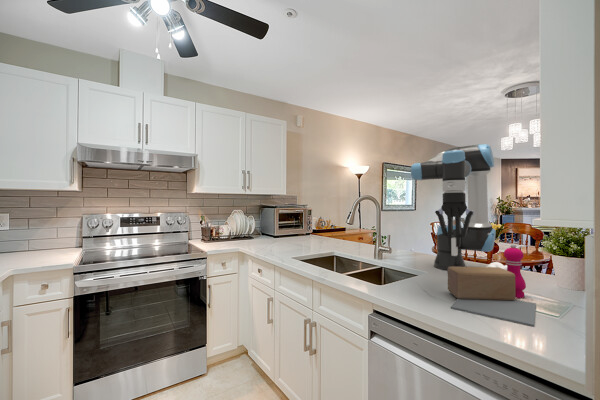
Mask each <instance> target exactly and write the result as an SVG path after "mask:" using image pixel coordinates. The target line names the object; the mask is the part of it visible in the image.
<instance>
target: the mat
mask: <svg viewBox="0 0 600 400" xmlns="http://www.w3.org/2000/svg"><path fill="white" fill-rule="evenodd" d="M536 307H537V303H536V302H530V301H523V300H520V299H515V300H487V299H459V298H457V299H456V300H455V301H454V302H453V303H452V304H451V306H450V309H452V310H456V311H460V312H465V313H470V314H474V315H479V316H484V317H488V318H491V319H492V318H493V319H497V320H501V321H506V322H511V323H514V324H519V325H520V324H521V325H524V326H529V327H534V328H535V322H536V312H535V311H537V310H536V309H537V308H536Z"/></svg>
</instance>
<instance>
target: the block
mask: <svg viewBox="0 0 600 400" xmlns="http://www.w3.org/2000/svg"><path fill="white" fill-rule="evenodd" d="M447 290H448V292H450V294H452V295H453V296H454V297H456V298H457V299H458V298H459V299H487V300H516V299H517V298H516V295H515V274H514V273H512V272H509V271H507V270H504V269H502V268H499V267H487V266H465V267H448V270H447Z"/></svg>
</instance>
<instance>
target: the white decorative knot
mask: <svg viewBox="0 0 600 400" xmlns="http://www.w3.org/2000/svg"><path fill="white" fill-rule="evenodd" d="M486 267H499V268H502V269H504V270H507V264H505V265H504V264H502V263H501V262H500V261H499V262H498V261H495V262H491V263H489V264H488V265H487V266H486Z"/></svg>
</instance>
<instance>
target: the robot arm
mask: <svg viewBox="0 0 600 400" xmlns="http://www.w3.org/2000/svg"><path fill="white" fill-rule="evenodd" d="M494 159H495V158H494V154H493V150H492V148H491V145H489V144H488V143H484V144H475V145H474V144H473V145H466V146H457V147H452V148H448V149H446V150H444V151H441V152H439V153H437V154H436V155H435V156H434V157H433V158H431V159H429V160H426V161H423V162H415V163H413V164H412V165H411V167H410V175H411V178H412V179H413V180H414V181H425V180H429V181H430V180H441V181H442V182H441V183H442V185H441V186H442V192H444V193H442V205H441V208H439V209H438V210H435V212H434V213H435V215H436V216H437V218H438V222H439V225H440V226H439V227H438V228H437V232H436V241H437V242H436V243H437V247H436V248H437V252H436V256H435V258H434V262H433V263H434V264H433V265H434V266H433V267H434V268H436V269H440V270H444V271H448V267H466V263H465V260H464V256H463V254H462V253H463V252H462V250H463V251H475V252H481V253H483V252H487V253H488V252H489V253H490V252H492V251H493V249H494V246H495V241H496V234H497V233H496V231H497V230H496V228H493V225H492V224H491V223H490V222H489V211H488V210H489V207H488V206H489V205H488V204H489V202H488V174H489V173H490V172H491V168H493V167H495V161H494ZM466 185H467V186H466ZM466 189H467V199H466V193H465V191H466ZM466 201H467V204H466ZM464 213H465V215H466V216H465V219H464V221H463V222H464V223H463V226H462V225H461V222H462V221H461V220H462V216H463V215H464ZM443 214H445V215H446V217H447V218H446V219H447V225H446V221H445V217H444V215H443ZM454 219H455V220H454ZM454 221H455V224H454Z"/></svg>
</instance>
